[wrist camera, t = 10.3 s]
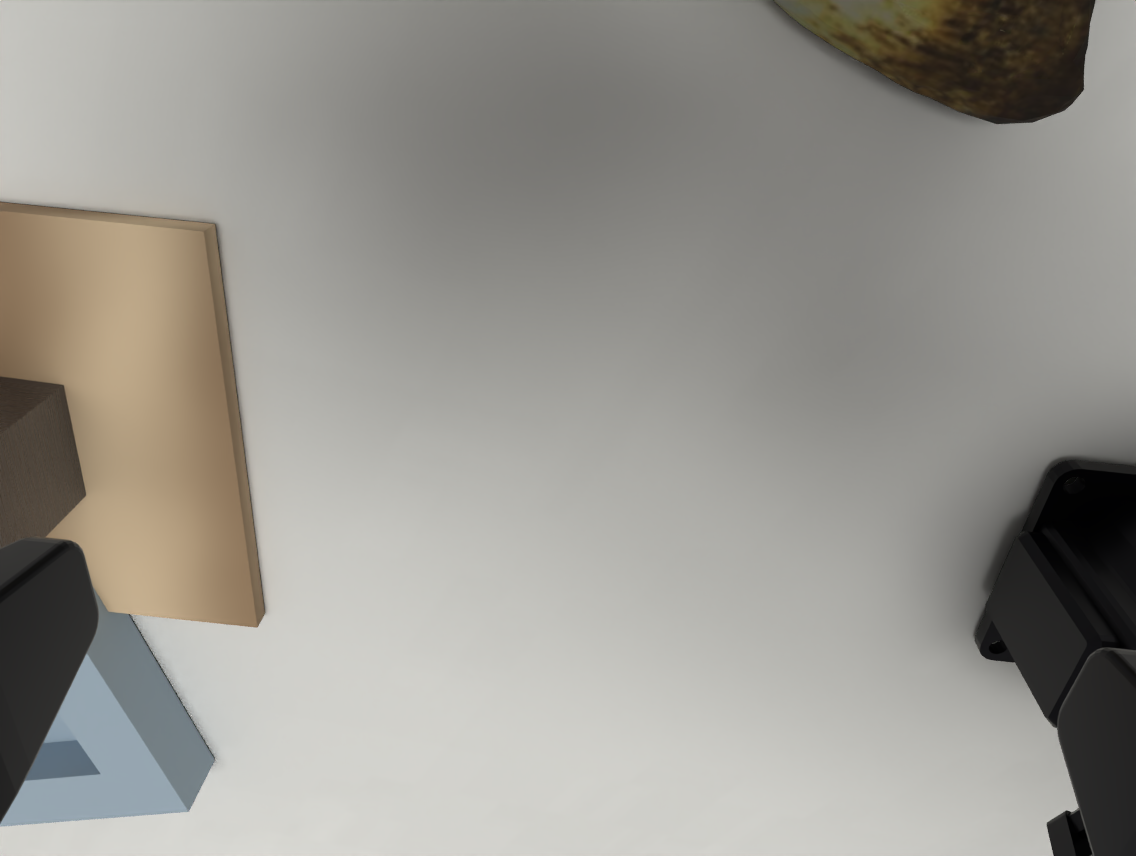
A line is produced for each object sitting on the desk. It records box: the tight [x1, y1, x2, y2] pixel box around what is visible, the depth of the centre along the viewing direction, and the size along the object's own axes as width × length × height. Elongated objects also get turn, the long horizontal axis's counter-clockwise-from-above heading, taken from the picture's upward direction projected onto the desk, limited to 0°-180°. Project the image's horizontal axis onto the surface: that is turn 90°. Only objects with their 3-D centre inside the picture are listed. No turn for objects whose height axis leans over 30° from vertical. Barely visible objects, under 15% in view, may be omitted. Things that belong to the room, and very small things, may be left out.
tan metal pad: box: [0, 202, 265, 627], centre depth 22 cm, size 12×12×1 cm
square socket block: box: [0, 587, 215, 826], centre depth 27 cm, size 9×9×2 cm
